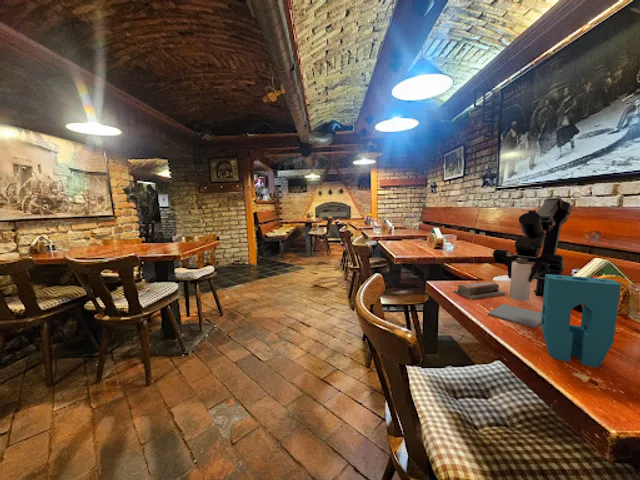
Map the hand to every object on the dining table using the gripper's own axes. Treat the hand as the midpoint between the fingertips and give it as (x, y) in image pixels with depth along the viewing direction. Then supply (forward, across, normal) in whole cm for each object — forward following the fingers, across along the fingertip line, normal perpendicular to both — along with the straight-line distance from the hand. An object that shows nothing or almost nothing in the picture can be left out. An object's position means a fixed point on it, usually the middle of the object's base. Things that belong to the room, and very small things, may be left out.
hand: (519, 279), depth 84 cm
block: (+22, +16, -4) cm, 28 cm away
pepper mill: (+4, 0, +6) cm, 7 cm away
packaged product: (-2, -18, +21) cm, 28 cm away
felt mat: (+8, 0, +10) cm, 13 cm away
